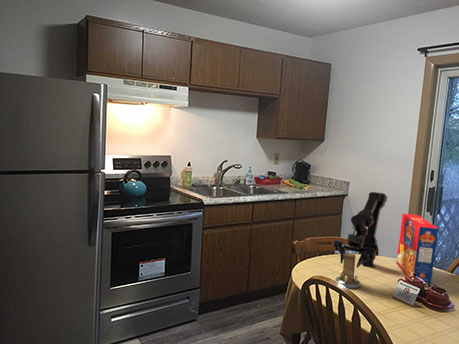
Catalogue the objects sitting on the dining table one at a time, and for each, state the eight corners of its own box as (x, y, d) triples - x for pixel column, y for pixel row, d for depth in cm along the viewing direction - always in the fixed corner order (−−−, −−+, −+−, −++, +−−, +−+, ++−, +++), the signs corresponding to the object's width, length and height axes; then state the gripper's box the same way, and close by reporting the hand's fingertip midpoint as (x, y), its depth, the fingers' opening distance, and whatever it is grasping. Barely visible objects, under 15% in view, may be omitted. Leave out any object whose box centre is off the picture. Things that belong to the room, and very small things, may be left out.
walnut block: (345, 278, 174) (346, 252, 173) (353, 280, 172) (355, 254, 170) (342, 281, 170) (344, 254, 169) (351, 283, 168) (353, 256, 167)
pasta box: (396, 263, 204) (402, 213, 200) (411, 265, 202) (418, 215, 199) (412, 284, 176) (419, 226, 173) (430, 286, 175) (438, 228, 171)
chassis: (339, 276, 179) (340, 267, 178) (363, 283, 173) (364, 273, 172) (332, 283, 170) (333, 274, 169) (356, 291, 164) (357, 281, 163)
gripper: (336, 223, 176) (325, 251, 169) (377, 231, 166) (368, 261, 158) (340, 236, 184) (330, 263, 176) (379, 244, 173) (370, 274, 166)
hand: (348, 265), depth 169 cm, fingers open, 7 cm apart
